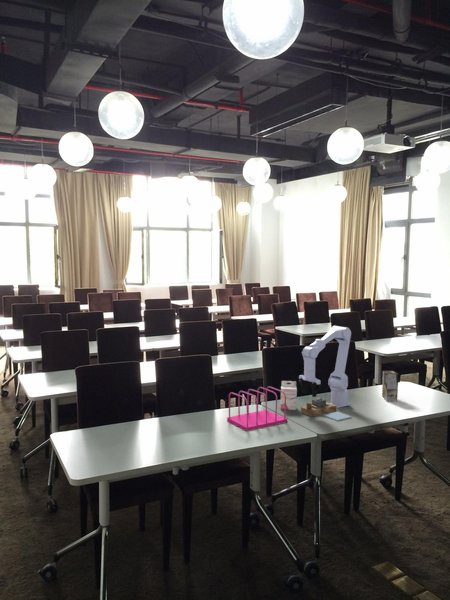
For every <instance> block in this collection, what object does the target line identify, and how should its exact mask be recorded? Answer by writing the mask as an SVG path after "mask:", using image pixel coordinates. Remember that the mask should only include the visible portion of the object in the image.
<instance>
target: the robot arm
mask: <svg viewBox="0 0 450 600" xmlns="http://www.w3.org/2000/svg"><path fill="white" fill-rule="evenodd" d="M351 338H352V331H351V329H350V328H349V327H347V326H339V325H333V326H332V327H330V328H329V331H328V332H326V334H325V335H324V336H323V337H321V338H316V339H315V340H314V342H312V343H311V344H309V345H308V346H307V345H306V346H305V347H304V348H302V351H301V355H302V358H303V366H304V367H303V369H304V370H303V374H300V375H298V379H299V380H297V381H298V383H299V385H300V388H301V392H302V394H307V390H308V383H309V382H310V383H309V384H310V388H311V397H313V398H315V397H316V398H317V394H318V391H319V389H320V387H321V385H322V384H321V380H320V379H318V378H316V358H317V357H318V355H319V353H320V352H321V351H323V349H325V348H326V344H328V343H329V342H331V341H332V340H333V339H335V340H336V341H337V343H338V350H337V356H336V360H335V361H336V362H335V367H334V371H332V373H330V376H329V378H328V380H327V381H328V383H327V384H328V387H329V388H330V403H331V404H334V405H336V409H339V408H343V407H348V406H350V403H349V401H350V400H349V395H350V394H349V390H348V389H347V388H348V386H349V377H348V375H347V374H346V373H345V372H346V365H347V360H348V356H349V355H348V354H349V349H350V343H351Z"/></svg>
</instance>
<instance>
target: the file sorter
mask: <svg viewBox="0 0 450 600" xmlns="http://www.w3.org/2000/svg"><path fill="white" fill-rule="evenodd" d="M268 388H269V389H268ZM260 389H262V390H265V393H264V392H261V391H260ZM270 389H273V390H275V391H278V392H280V393H281V392H282V393H283V394H284V396H285V408H284V409H283V410H284V413H283V415H284V416H282V415H279V414H278V396H277V393H276V392H275V391H273V390H270ZM250 391H252V392H256V393H257V394H256V395H257V396H256V395H255V394H252V393H250ZM268 392H270V393H272V394H274V395H275V412H272V411H270V410H268ZM241 393H243V394H246V396H247V398H246V397H245V396H243V395H240V394H241ZM260 394H261V395H263V396H264V398H265V409H263V410H259V395H260ZM231 395H235V396H237V397H238V399H237V400H238V401H237V402H238V405H237V406H238V409H237V410H238V412H237V413H238V415H233V416H231ZM249 396H252V397H254V399H255V406H256V409H255V411H252V412H250V401H249V400H250V397H249ZM240 397H241V398H243V399H244V400H245V403H246V406H245V407H246V413H242V414H241V403H240V402H241V401H240ZM286 415H287V410H286V395H285V393H284V392H283V391H281V389H278V388H275V387H272V386H268V385H267V387H266V388H265V387H262V386H259V387H258V388H257V390H255V389H252V388H248V390H247V391H243V390H240V391H239V392H238V393H235V392H232V391H231V392H229V394H228V417H226V421H228V422H230V423H231V424H233V425H235V426H237V427H238V428H241V429H242V430H244V431H246V432H247V431H251V430H257V429H261V428H265V427H270V425H271V426H275V425H279V423H280V424H283V422H284V423H288V418H287V417H286ZM274 424H275V425H274Z"/></svg>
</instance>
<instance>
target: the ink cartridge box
mask: <svg viewBox="0 0 450 600" xmlns="http://www.w3.org/2000/svg"><path fill="white" fill-rule="evenodd" d="M297 388H298V387H297V381H295V380H294V381H292V380H281V386H280V390H281V391H283V392H284V393H285V395H286V411H287V410H288V411H290V410H291V411H297V401H298V400H297V398H298V397H297V395H298V389H297ZM284 408H285V396H284V394H283V393H282V392H280V410H284Z"/></svg>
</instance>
